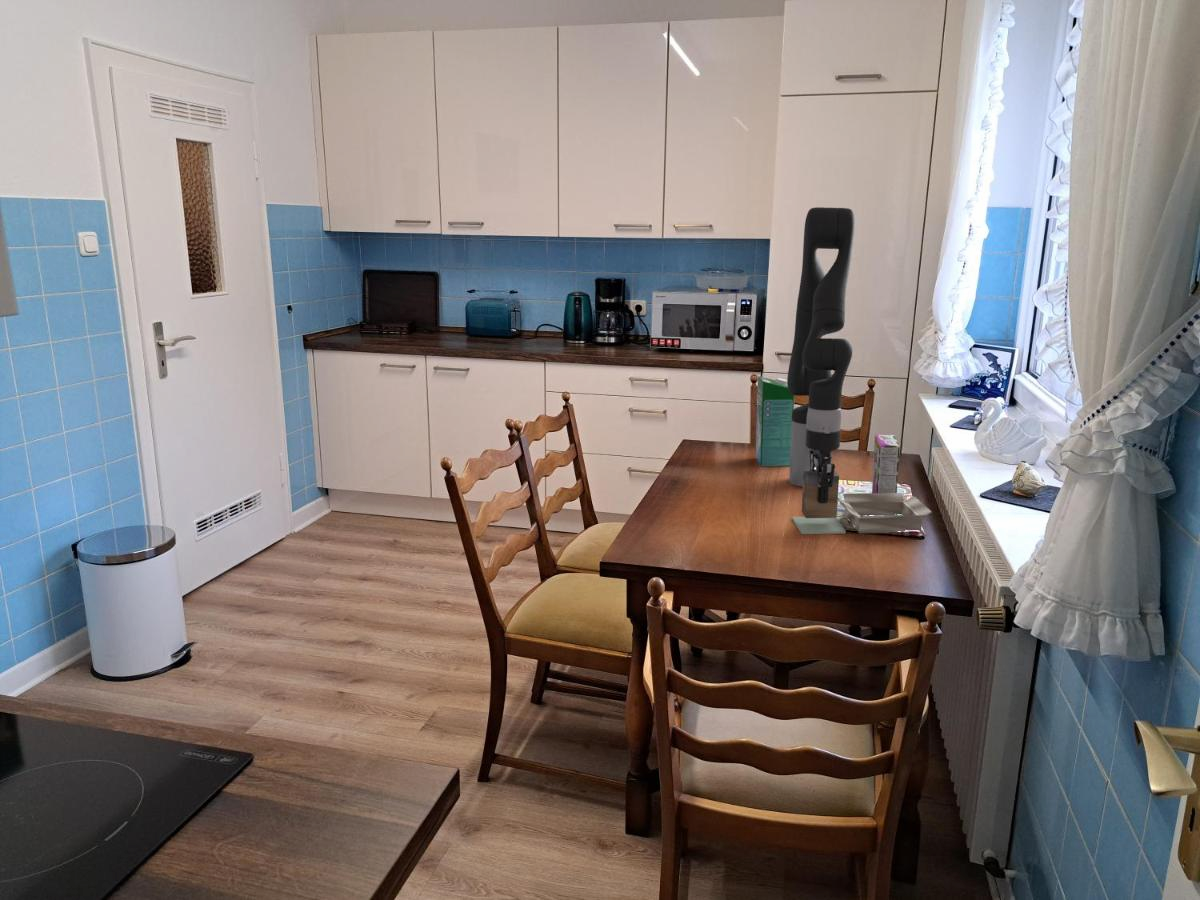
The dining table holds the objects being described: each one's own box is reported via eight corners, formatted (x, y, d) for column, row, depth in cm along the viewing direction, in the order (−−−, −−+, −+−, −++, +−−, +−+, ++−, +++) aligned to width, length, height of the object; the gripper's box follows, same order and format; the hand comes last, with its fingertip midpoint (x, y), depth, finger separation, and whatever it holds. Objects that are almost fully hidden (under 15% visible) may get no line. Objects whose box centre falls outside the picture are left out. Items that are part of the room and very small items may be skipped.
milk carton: (791, 466, 247) (795, 380, 240) (760, 466, 247) (763, 381, 241) (785, 457, 256) (788, 375, 249) (755, 458, 256) (757, 375, 249)
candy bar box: (870, 495, 219) (874, 433, 215) (890, 496, 218) (895, 434, 214) (874, 509, 209) (879, 445, 204) (896, 510, 208) (901, 445, 203)
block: (801, 511, 200) (803, 470, 197) (831, 511, 200) (833, 470, 197) (806, 518, 195) (808, 476, 193) (836, 517, 195) (839, 475, 193)
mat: (792, 519, 203) (792, 516, 203) (834, 518, 203) (834, 516, 203) (801, 534, 193) (801, 531, 193) (845, 533, 193) (845, 531, 193)
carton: (832, 512, 207) (833, 493, 206) (909, 511, 207) (910, 492, 206) (851, 537, 191) (853, 516, 190) (934, 535, 191) (936, 515, 190)
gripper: (799, 420, 199) (796, 490, 203) (814, 434, 185) (810, 509, 190) (831, 419, 199) (828, 489, 203) (848, 434, 185) (844, 509, 189)
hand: (819, 498), depth 196 cm, fingers closed on block, 4 cm apart
